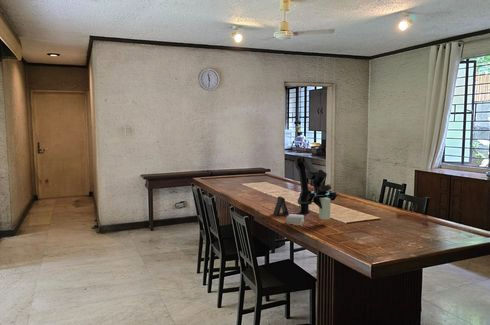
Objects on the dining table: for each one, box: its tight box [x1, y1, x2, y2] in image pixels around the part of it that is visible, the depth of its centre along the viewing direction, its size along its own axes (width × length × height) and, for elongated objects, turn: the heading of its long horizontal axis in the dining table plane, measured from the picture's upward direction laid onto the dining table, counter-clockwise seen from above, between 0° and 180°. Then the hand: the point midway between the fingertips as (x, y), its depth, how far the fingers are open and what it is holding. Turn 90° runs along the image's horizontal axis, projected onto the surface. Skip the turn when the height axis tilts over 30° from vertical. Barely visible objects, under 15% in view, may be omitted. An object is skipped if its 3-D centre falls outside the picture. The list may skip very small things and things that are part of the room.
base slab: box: [285, 219, 305, 226], centre depth 244 cm, size 9×9×2 cm
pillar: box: [318, 197, 331, 220], centre depth 240 cm, size 5×5×12 cm
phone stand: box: [273, 196, 290, 217], centre depth 266 cm, size 9×6×12 cm, turn 108°
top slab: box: [286, 213, 305, 223], centre depth 244 cm, size 9×9×2 cm
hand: (325, 208), depth 239 cm, fingers closed on pillar, 5 cm apart
